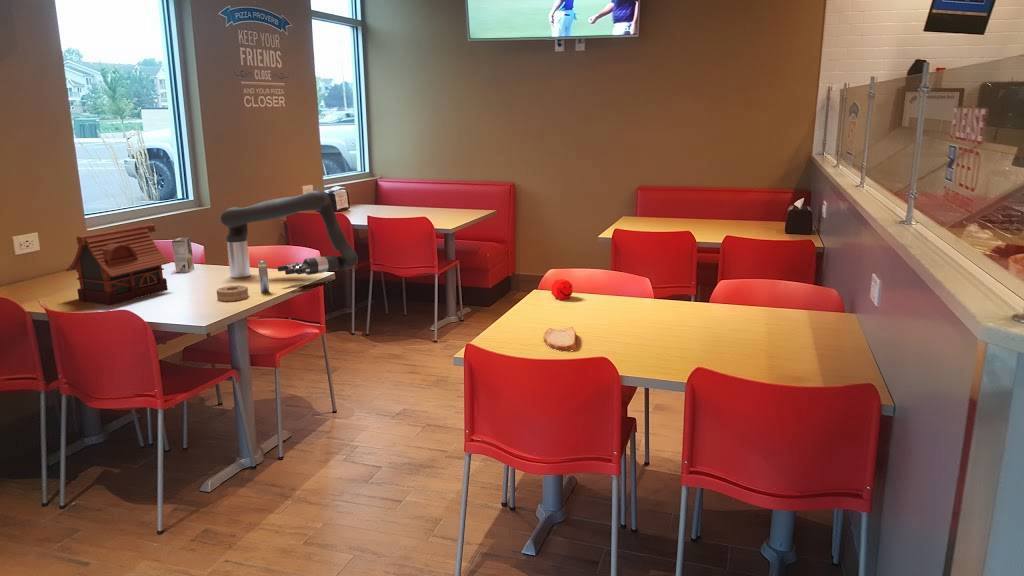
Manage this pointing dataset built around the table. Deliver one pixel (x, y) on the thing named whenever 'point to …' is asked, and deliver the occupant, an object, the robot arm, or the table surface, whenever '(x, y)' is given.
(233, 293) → the bead
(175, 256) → the coffee box
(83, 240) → the house
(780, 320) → the table surface
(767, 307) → the table surface
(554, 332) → the bread slice
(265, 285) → the grey tall cylinder
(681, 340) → the table surface
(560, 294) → the ball
